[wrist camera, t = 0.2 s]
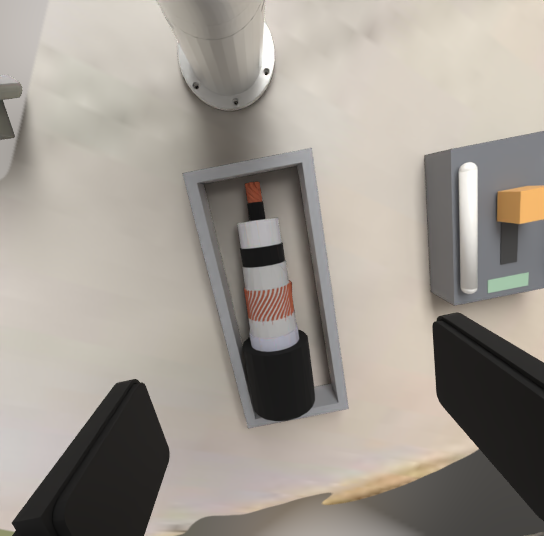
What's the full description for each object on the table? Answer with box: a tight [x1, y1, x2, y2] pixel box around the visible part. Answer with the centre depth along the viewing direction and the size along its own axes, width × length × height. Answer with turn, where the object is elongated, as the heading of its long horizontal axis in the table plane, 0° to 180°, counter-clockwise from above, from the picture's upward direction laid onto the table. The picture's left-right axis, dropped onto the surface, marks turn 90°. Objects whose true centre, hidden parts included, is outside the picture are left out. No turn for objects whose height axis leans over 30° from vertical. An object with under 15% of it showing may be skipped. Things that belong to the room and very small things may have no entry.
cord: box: [459, 162, 478, 294], centre depth 39 cm, size 18×2×2 cm, turn 11°
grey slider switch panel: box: [425, 131, 544, 306], centre depth 42 cm, size 22×16×6 cm
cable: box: [237, 182, 315, 421], centre depth 43 cm, size 10×34×10 cm, turn 5°
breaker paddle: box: [497, 185, 544, 224], centre depth 37 cm, size 4×4×4 cm
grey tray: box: [183, 148, 349, 428], centre depth 45 cm, size 41×17×5 cm, turn 11°
